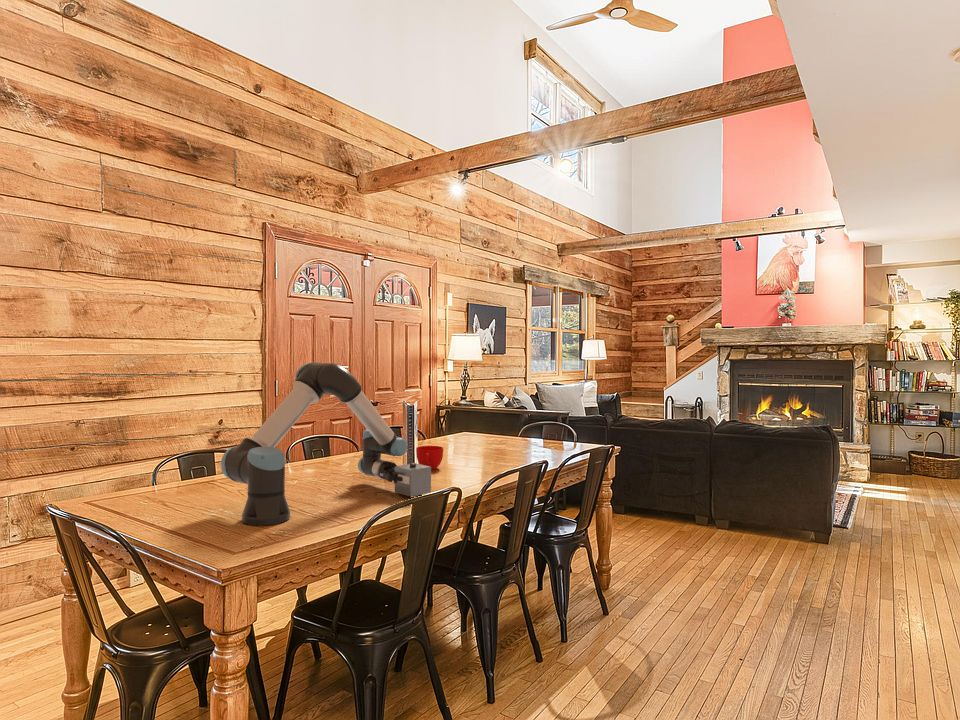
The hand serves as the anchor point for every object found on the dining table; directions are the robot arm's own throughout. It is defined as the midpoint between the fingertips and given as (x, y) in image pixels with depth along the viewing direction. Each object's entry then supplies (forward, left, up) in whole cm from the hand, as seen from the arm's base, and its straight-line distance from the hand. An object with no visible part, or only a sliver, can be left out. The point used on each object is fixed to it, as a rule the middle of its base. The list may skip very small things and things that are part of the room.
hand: (419, 478), depth 233 cm
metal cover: (+4, +2, -6) cm, 7 cm away
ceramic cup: (+51, -21, -8) cm, 56 cm away
